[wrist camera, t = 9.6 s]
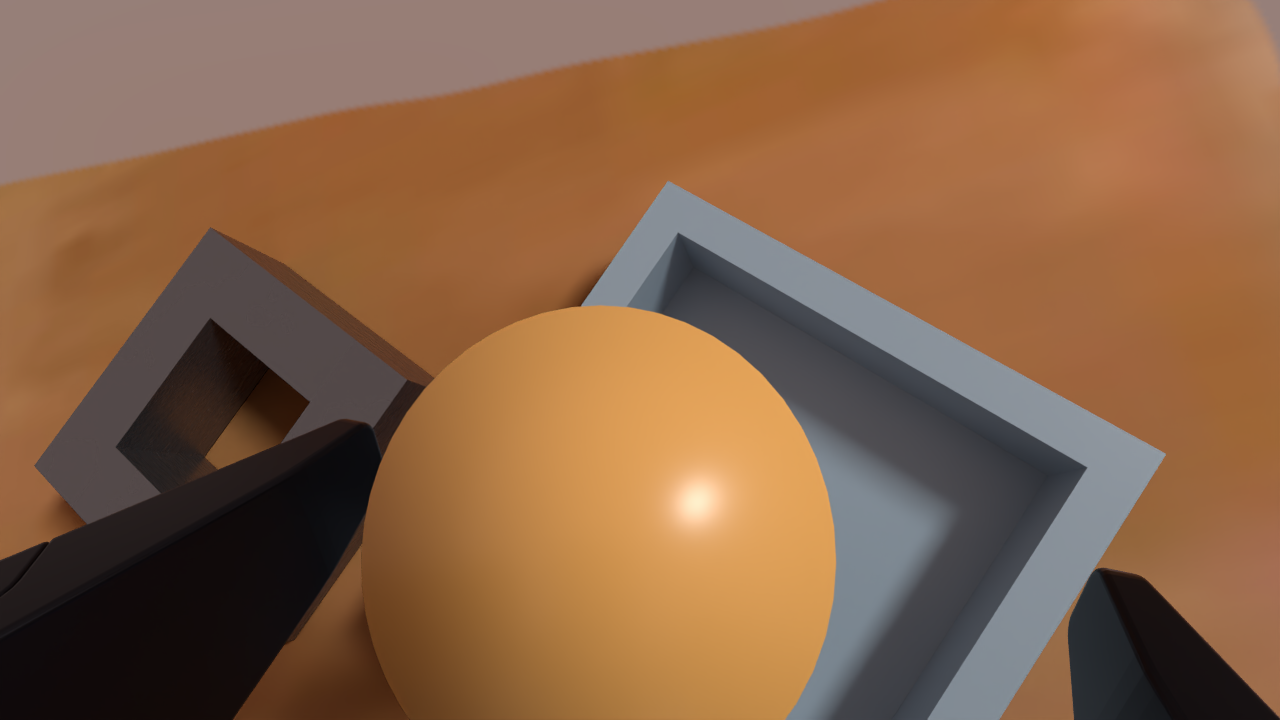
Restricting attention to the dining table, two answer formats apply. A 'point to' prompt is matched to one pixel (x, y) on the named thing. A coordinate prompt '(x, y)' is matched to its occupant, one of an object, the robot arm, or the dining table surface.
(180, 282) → the pin collar
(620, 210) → the dining table surface
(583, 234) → the dining table surface
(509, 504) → the pin
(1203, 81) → the dining table surface
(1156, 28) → the dining table surface
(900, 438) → the tray
